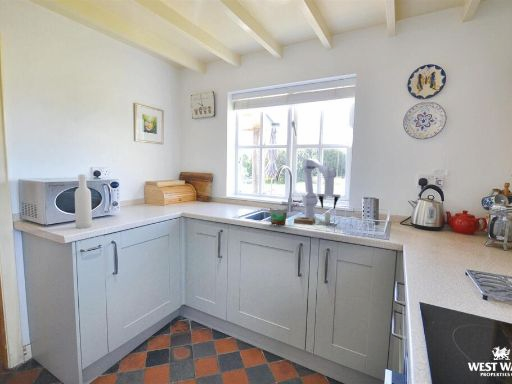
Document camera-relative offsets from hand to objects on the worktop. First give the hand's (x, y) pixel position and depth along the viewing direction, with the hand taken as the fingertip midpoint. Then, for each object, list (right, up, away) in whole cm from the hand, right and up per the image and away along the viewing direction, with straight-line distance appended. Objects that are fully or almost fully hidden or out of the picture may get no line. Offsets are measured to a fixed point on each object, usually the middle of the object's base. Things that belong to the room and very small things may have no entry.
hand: (328, 208), depth 172 cm
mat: (0, -10, +1) cm, 10 cm away
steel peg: (0, -10, 0) cm, 10 cm away
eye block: (-15, -10, +4) cm, 18 cm away
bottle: (-147, -10, -23) cm, 149 cm away
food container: (-35, -10, -5) cm, 37 cm away
